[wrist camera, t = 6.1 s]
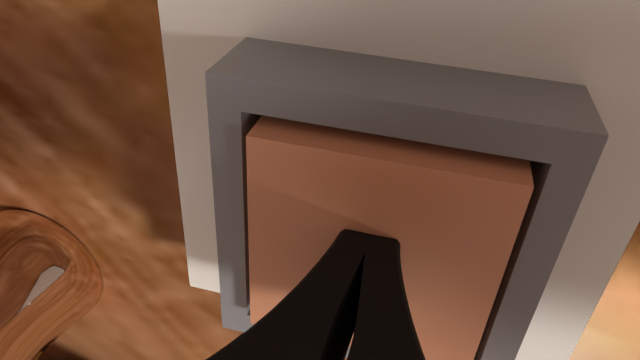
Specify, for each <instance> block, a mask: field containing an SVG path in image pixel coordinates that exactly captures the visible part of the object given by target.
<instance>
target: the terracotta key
mask: <svg viewBox="0 0 640 360" xmlns="http://www.w3.org/2000/svg"><path fill="white" fill-rule="evenodd" d="M246 163H247V203H248V243H249V283H250V323H251V324H255V323H257V322H258V321H259V320H260V319H261V318H263V317H264V316H265V315H266V314H267V313H268V312H269V311H271V310H272V309H273V308H274V307H275V306H276V305H277V304H278V303H279V302H280V301H281V300H282V299H283V298H284V297H285V296H286V295H287V294H288V293H289V292H290V291H291V290H293V289H294V288H295V287H296V286H297V285H298V284H299V282H300V281H301V280H302V279H303V278H304V277H305V276H306V275H307V274H308V273H309V271H310V270H311V269H312V268H313V267H314V266H315V265H316V264H317V262H318V261H319V260H320V259H321V257H322V256H323V255H324V254H325V253H326V251H327V250H328V249H329V247H330V246H331V245H332V243H333V242H334V240H335V239H336V238H337V236H338V234H339V233H340V231H342V230H344V229H349V230H354V231H359V232H364V233H368V234H373V235H378V236H384V237H389V238H394V239H397V240H398V241H399V243H400V244H401V245H400V258H401V269H402V275H403V282H404V287H405V292H406V296H407V300H408V304H409V309H410V312H411V316H412V320H413V323H414V326H415V330H416V333H417V336H418V339H419V342H420V345H421V348H422V351H423V354H424V356H425V359H426V360H474V357H475V354H476V351H477V349H478V346H479V343H480V340H481V337H482V334H483V332H484V329H485V326H486V323H487V320H488V317H489V314H490V312H491V309H492V306H493V303H494V300H495V297H496V294H497V292H498V289H499V286H500V283H501V280H502V277H503V275H504V272H505V269H506V266H507V263H508V260H509V257H510V255H511V252H512V249H513V246H514V243H515V240H516V238H517V235H518V232H519V229H520V226H521V223H522V220H523V218H524V215H525V212H526V209H527V206H528V203H529V200H530V198H531V195H532V192H533V189H534V183H533V177H532V172H531V166H530V160H524V159H518V158H513V157H507V156H501V155H495V154H489V153H483V152H477V151H471V150H465V149H459V148H453V147H447V146H441V145H436V144H430V143H424V142H418V141H412V140H406V139H400V138H394V137H388V136H382V135H376V134H370V133H365V132H359V131H353V130H347V129H341V128H335V127H329V126H323V125H317V124H311V123H305V122H299V121H294V120H288V119H282V118H276V117H270V116H264V115H262V116H261V117H260V118H259V120H258V121H257V122H256V124H255V125H254V126H253V127H252V129H251V130H250V131H249V133H248V134H247V135H246ZM353 334H354V333H353ZM352 339H353V336H352ZM352 339H351V342H350V345H349V347H351V343H352Z"/></svg>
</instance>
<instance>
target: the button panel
mask: <svg viewBox="0 0 640 360" xmlns="http://www.w3.org/2000/svg"><path fill="white" fill-rule="evenodd" d="M157 1H158V10H159V19H160V27H161V36H162V45H163V53H164V62H165V71H166V80H167V88H168V97H169V106H170V115H171V123H172V132H173V141H174V150H175V158H176V167H177V176H178V185H179V193H180V202H181V211H182V220H183V228H184V237H185V246H186V255H187V263H188V272H189V281H190V286H193V287H197V288H201V289H206V290H210V291H214V292H218V293H220V297H221V311H222V325H223V327H224V328H228V329H232V330H236V331H240V332H245V331H247V330H248V329H249V328H250V327H252V326H253V325H254V324H251V323H250V283H249V243H248V203H247V163H246V135H247V134H248V133H249V131H250V130H251V129H252V127H253V126H254V125H255V124H256V122H257V121H258V120H259V118H260V117H261V116H262V115H264V116H270V117H276V118H282V119H288V120H294V121H299V122H305V123H311V124H317V125H323V126H329V127H335V128H341V129H347V130H353V131H359V132H365V133H370V134H376V135H382V136H388V137H394V138H400V139H406V140H412V141H418V142H424V143H430V144H436V145H441V146H447V147H453V148H459V149H465V150H471V151H477V152H483V153H489V154H495V155H501V156H507V157H513V158H518V159H524V160H530V166H531V172H532V177H533V183H534V189H533V192H532V195H531V198H530V200H529V203H528V206H527V209H526V212H525V215H524V218H523V220H522V223H521V226H520V229H519V232H518V235H517V238H516V240H515V243H514V246H513V249H512V252H511V255H510V257H509V260H508V263H507V266H506V269H505V272H504V275H503V277H502V280H501V283H500V286H499V289H498V292H497V294H496V297H495V300H494V303H493V306H492V309H491V312H490V314H489V317H488V320H487V323H486V326H485V329H484V332H483V334H482V337H481V340H480V343H479V346H478V349H477V351H476V354H475V357H474V360H569V358H570V356H571V354H572V353H573V351H574V349H575V347H576V345H577V343H578V341H579V339H580V337H581V335H582V333H583V331H584V329H585V327H586V325H587V323H588V321H589V319H590V317H591V315H592V313H593V311H594V310H595V308H596V306H597V304H598V302H599V300H600V298H601V296H602V294H603V292H604V290H605V288H606V286H607V284H608V282H609V280H610V278H611V276H612V274H613V272H614V270H615V269H616V267H617V265H618V263H619V261H620V259H621V257H622V255H623V253H624V251H625V249H626V247H627V245H628V243H629V241H630V239H631V237H632V235H633V233H634V231H635V229H636V227H637V226H638V224H639V222H640V0H157ZM349 351H350V347H349V348H348V351H347V353H346V356H345V357H346V358H348V354H349Z"/></svg>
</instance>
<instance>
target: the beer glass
mask: <svg viewBox="0 0 640 360" xmlns="http://www.w3.org/2000/svg"><path fill="white" fill-rule="evenodd" d="M101 293H102V279H101V274H100V271H99V269H98V266H97V264H96V262H95V261H94V259H93V257H92V256H91V254H90V253H89V252H88V250H87V249H86V248H85V247H84V246H83V245H82V243H81V242H80V241H79V240H78V239H76V238H75V237H74V236H73V235H72V234H71V233H70V232H68V231H67V230H66V229H64V228H63V227H61V226H60V225H58V224H57V223H55V222H53V221H51V220H49V219H48V218H45V217H43V216H41V215H38V214H35V213H32V212H29V211H24V210H17V209H6V210H0V360H38V358H39V357H40V356H41V355H42V354H43V353H44V352H45V350H46V349H47V348H48V347H49V346H50V345H51V344H52V343H53V342H54V341H55V340H56V339H57V338H58V337H59V336H60V335H62V334H63V333H64V332H65V331H66V330H68V329H69V328H70V327H71V326H72V325H74V324H75V323H76V322H77V321H78V320H80V319H81V318H82V317H83V316H84V315H86V314H87V313H88V312H89V311H90V310H91V309H92V308H93V307H94V306H95V305H96V304H97V302H98V300H99V298H100V296H101Z"/></svg>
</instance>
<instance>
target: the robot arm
mask: <svg viewBox="0 0 640 360" xmlns="http://www.w3.org/2000/svg"><path fill="white" fill-rule="evenodd" d="M400 245H401V244H400V243H399V241H398V240H397V239H394V238H389V237H384V236H378V235H373V234H368V233H364V232H359V231H354V230H349V229H344V230H342V231H340V233H339V234H338V236H337V238H336V239H335V240H334V242H333V243H332V245H331V246H330V247H329V249H328V250H327V251H326V253H325V254H324V255H323V256H322V257H321V259H320V260H319V261H318V262H317V264H316V265H315V266H314V267H313V268H312V269H311V270H310V271H309V273H308V274H307V275H306V276H305V277H304V278H303V279H302V280H301V281H300V282H299V284H298V285H297V286H296V287H295V288H294V289H293V290H291V291H290V292H289V293H288V294H287V295H286V296H285V297H284V298H283V299H282V300H281V301H280V302H279V303H278V304H277V305H276V306H275V307H274V308H273V309H272V310H271V311H269V312H268V313H267V314H266V315H265V316H264V317H263V318H261V319H260V320H259V321H258V322H257V323H255V324H254V325H253V326H252V327H250V328H249V329H248V330H247V331H245V332H244V333H243V334H241V335H240V336H239V337H237V338H236V339H235V340H233V341H232V342H231V343H229V344H228V345H227V346H225V347H224V348H222V349H221V350H219V351H218V352H217V353H215V354H214V355H212V356H211V357H209V358H208V359H206V360H344V359H345V356H346V353H347V351H348V348H349V345H350V342H351V339H352V336H353V339H352V343H351V347H350V351H349V354H348V358H347V360H426V359H425V356H424V354H423V351H422V348H421V345H420V342H419V339H418V336H417V333H416V330H415V326H414V323H413V320H412V316H411V312H410V309H409V304H408V300H407V296H406V292H405V287H404V282H403V275H402V269H401V258H400ZM353 333H354V334H353Z"/></svg>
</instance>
